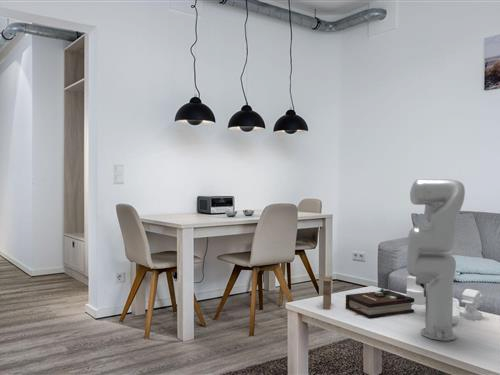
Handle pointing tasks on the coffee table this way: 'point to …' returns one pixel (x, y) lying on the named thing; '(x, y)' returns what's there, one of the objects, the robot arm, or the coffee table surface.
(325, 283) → the bookend
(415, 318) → the coffee table surface
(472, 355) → the coffee table surface
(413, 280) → the cylinder with rectangular tab
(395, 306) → the decorative book
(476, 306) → the character figurine
